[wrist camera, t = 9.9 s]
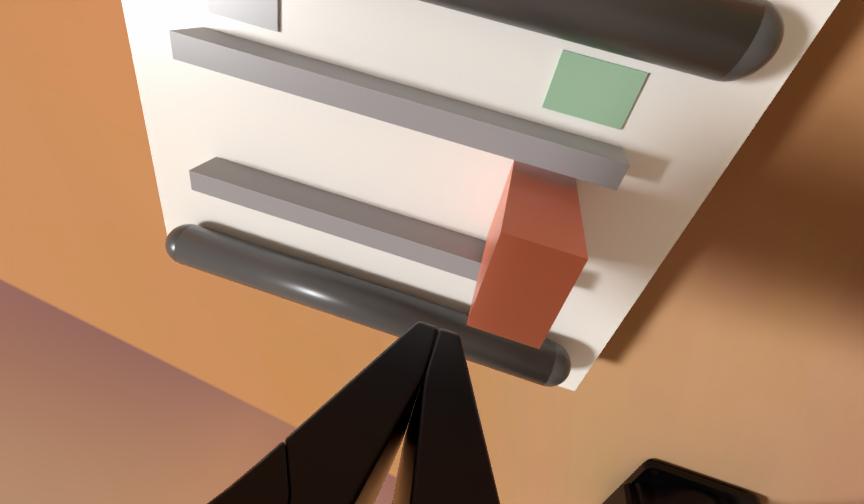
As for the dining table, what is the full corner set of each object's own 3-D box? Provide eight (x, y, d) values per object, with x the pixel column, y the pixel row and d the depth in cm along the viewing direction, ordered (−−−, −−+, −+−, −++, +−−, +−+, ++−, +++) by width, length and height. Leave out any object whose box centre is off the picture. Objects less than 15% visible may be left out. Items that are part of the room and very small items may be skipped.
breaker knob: (575, 175, 13) (588, 259, 9) (541, 249, 15) (539, 348, 11) (514, 157, 13) (500, 231, 9) (488, 233, 15) (466, 325, 11)
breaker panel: (806, -32, 11) (926, -43, 8) (571, 350, 20) (576, 426, 17) (152, -194, 13) (0, -265, 9) (206, 231, 22) (140, 277, 18)
